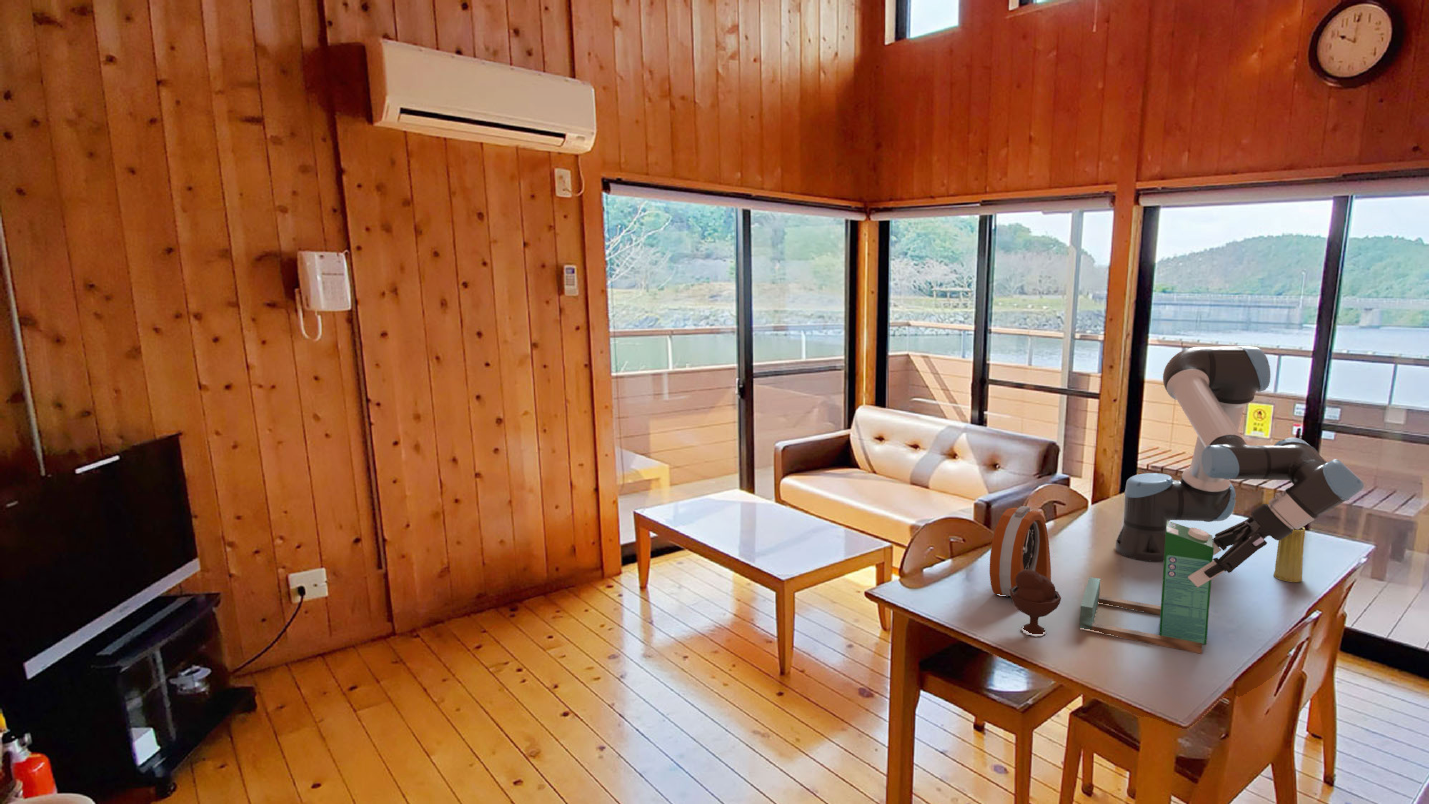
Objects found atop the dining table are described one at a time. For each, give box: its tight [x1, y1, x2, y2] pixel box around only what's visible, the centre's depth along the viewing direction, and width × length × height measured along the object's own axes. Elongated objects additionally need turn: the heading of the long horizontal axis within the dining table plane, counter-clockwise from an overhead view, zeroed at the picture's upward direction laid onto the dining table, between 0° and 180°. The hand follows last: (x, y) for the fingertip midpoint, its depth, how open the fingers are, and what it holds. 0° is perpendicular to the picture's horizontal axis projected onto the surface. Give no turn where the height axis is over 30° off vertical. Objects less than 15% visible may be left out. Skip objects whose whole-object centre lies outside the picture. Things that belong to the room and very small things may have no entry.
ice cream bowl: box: [1009, 569, 1062, 634], centre depth 172 cm, size 11×11×15 cm
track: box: [1079, 576, 1203, 654], centre depth 174 cm, size 24×19×6 cm
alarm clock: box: [989, 505, 1052, 597], centre depth 194 cm, size 22×10×23 cm, turn 137°
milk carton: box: [1158, 520, 1214, 645], centre depth 168 cm, size 9×9×25 cm
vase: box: [1273, 526, 1306, 583], centre depth 196 cm, size 6×6×14 cm
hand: (1191, 571), depth 167 cm, fingers open, 13 cm apart
